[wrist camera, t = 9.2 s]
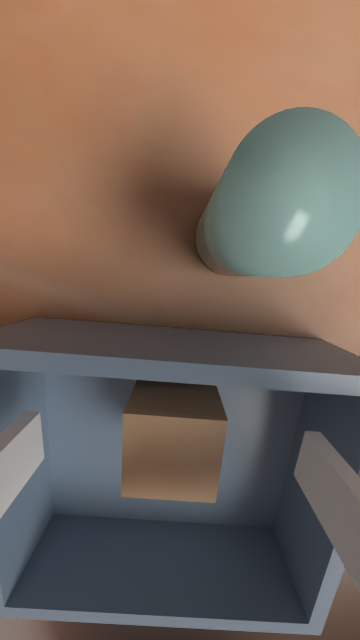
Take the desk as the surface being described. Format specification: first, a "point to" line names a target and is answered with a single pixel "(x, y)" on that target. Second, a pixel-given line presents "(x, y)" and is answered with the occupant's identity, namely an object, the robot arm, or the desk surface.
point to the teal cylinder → (285, 198)
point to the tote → (169, 515)
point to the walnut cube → (173, 442)
